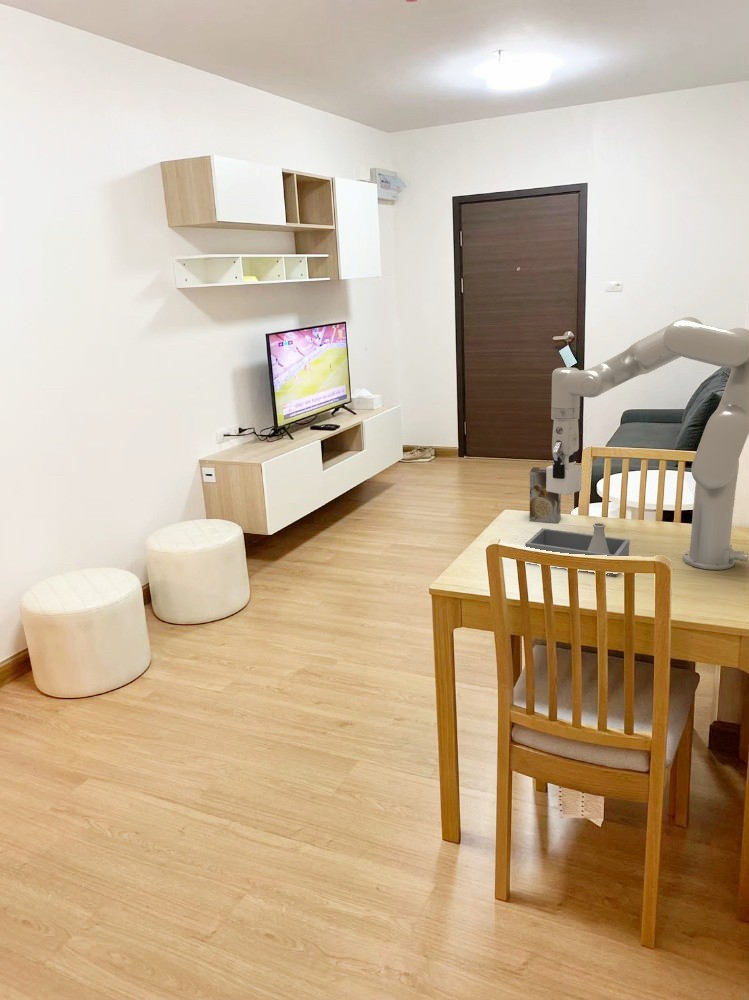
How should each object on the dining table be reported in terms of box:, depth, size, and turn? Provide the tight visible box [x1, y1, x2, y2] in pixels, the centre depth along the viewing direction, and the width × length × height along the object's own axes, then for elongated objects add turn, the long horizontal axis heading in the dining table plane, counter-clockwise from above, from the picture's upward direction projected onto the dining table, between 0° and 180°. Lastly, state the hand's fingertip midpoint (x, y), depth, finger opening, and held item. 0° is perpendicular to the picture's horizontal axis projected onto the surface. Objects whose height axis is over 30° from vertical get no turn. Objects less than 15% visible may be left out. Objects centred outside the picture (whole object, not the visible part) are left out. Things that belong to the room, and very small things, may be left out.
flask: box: [587, 522, 610, 554], centre depth 205 cm, size 7×7×10 cm
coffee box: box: [529, 466, 562, 524], centre depth 242 cm, size 9×6×16 cm
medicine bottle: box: [545, 451, 583, 496], centre depth 219 cm, size 7×7×12 cm
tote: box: [524, 527, 631, 578], centre depth 208 cm, size 24×14×6 cm, turn 60°
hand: (563, 474), depth 219 cm, fingers closed on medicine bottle, 8 cm apart
